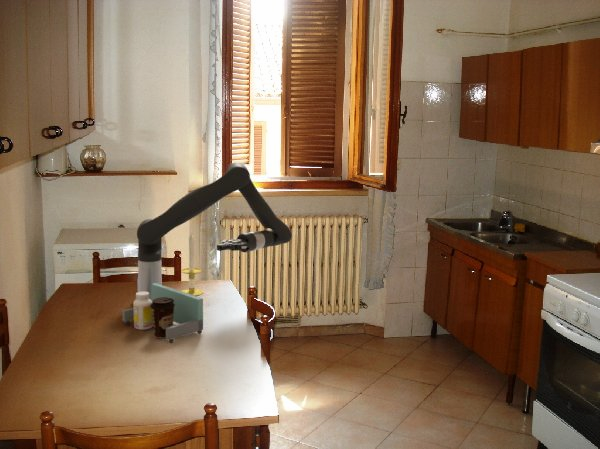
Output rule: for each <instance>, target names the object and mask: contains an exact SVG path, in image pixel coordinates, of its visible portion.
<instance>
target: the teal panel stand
mask: <svg viewBox="0 0 600 449" xmlns="http://www.w3.org/2000/svg"><path fill="white" fill-rule="evenodd" d="M151 286H152V303H153V300H154V299H156V298H162V297H168V298H172V299H173V300H174V302H173V303H174V304H175V306H174V317H173V323H176V324H173V326H171V327H167V328H166V338H165V340H166V341H168V342H169V343H173V342H174V339H177V338H181V337H184V336H187V335H190V334H194V333H197V334H199V335H202V333H203V330H204V299H203V297H200V296H194V295H191V294H188V293H185V292H182V290H178V289H177V288H176V289H175V288H172V287H169V286H167V285H163V284H162V285H160V284H157V283H154V284H151ZM121 312H122V313H121V316H122V319H121V321H122V322H124V324H125V325H127V326H128V325H129V324H130V323H131V322H130V321H134V310H133V307H131V308H126V309H123V310H121Z"/></svg>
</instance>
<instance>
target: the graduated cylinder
mask: <svg viewBox="0 0 600 449" xmlns="http://www.w3.org/2000/svg"><path fill="white" fill-rule="evenodd" d="M181 273H183V274H185V275H188V289H184V290H181V291H182V292H185V293H188V294H191V295H194V296H197V297H200V296H202V295H203V294H204V291H203V290H202V289H199V288H195V287H196V286H195V280H196V279H195V275H196V274H200V273H202V269H201V268H198V267H197V268H196V267H195V237H194V235H193V232H192V231H191V232H190V235H189V236H188V268H182V269H181Z"/></svg>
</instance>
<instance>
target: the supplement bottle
mask: <svg viewBox="0 0 600 449" xmlns="http://www.w3.org/2000/svg"><path fill="white" fill-rule="evenodd" d="M151 304H152V301H151V300H150V299H149V292H138V291H137V292H136V293H135V300H134V301H133V306H132V308H133V310H134V320H133V327H134V329H136V330H139V331H140V330H141V331H144V330H145V331H146V330H150V329H151V328H152V327H153V317H152V309H151V307H150V305H151Z"/></svg>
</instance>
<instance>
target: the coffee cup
mask: <svg viewBox="0 0 600 449" xmlns="http://www.w3.org/2000/svg"><path fill="white" fill-rule="evenodd" d="M173 302H174V300H173V299H172V298H168V297H162V298H156V299H154V300H153V303H152V304H151V305H150V307H151V309H152V317H153V326H152V327H153V336H154V338H157V339H166V328H167V327H171V326H174V322H173V317H174V306H175V304H174V303H173Z"/></svg>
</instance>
